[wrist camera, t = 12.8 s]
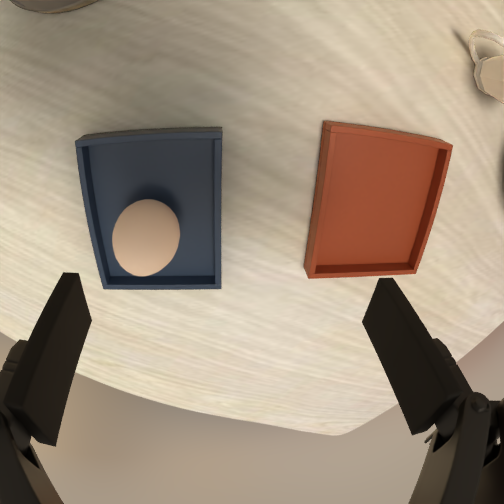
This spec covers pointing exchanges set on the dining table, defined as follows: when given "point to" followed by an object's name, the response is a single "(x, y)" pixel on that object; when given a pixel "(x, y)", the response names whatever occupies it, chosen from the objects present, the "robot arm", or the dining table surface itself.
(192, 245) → the blue tray
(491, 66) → the cup
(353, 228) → the terracotta tray
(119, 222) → the egg
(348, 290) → the dining table surface
